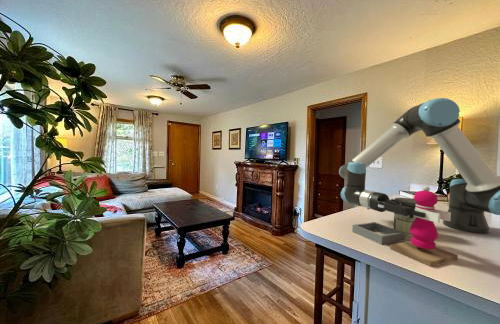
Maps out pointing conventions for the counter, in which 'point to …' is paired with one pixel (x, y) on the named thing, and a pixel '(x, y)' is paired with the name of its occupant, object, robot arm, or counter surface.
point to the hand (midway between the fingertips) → (444, 217)
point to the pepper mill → (422, 228)
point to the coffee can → (404, 219)
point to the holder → (390, 236)
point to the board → (424, 253)
